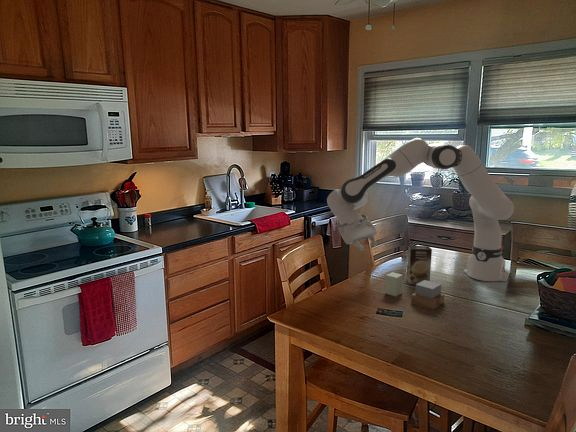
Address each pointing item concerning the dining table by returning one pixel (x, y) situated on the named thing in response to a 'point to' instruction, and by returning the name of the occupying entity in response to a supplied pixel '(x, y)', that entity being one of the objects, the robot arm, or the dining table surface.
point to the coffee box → (418, 264)
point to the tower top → (428, 289)
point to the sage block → (393, 284)
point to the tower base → (427, 301)
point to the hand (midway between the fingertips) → (369, 247)
